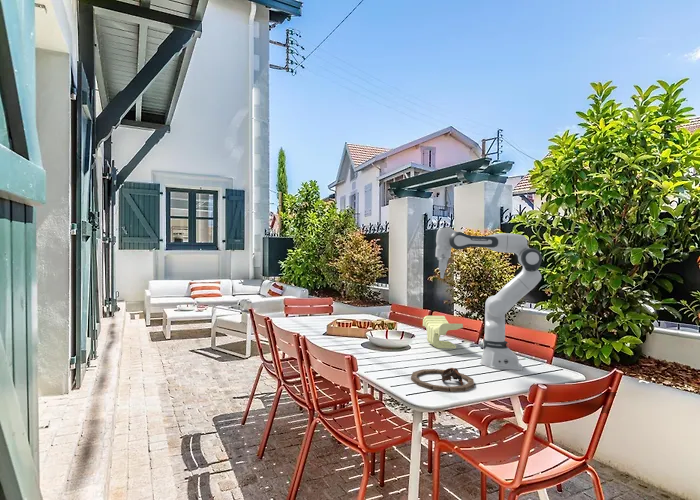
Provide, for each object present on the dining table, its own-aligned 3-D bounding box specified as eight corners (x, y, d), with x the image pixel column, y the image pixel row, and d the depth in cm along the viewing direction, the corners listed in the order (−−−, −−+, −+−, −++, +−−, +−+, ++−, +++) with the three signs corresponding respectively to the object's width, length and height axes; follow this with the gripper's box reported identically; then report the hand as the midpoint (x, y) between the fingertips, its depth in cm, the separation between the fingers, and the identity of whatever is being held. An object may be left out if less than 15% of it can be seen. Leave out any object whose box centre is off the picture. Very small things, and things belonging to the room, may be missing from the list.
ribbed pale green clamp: (422, 340, 294) (423, 315, 294) (443, 340, 297) (444, 315, 297) (438, 351, 264) (439, 323, 264) (461, 351, 267) (462, 323, 267)
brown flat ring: (472, 376, 214) (472, 372, 214) (474, 394, 185) (474, 391, 185) (414, 369, 221) (415, 366, 221) (408, 386, 193) (408, 383, 193)
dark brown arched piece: (462, 388, 195) (454, 373, 194) (445, 393, 199) (436, 378, 199) (467, 375, 205) (459, 361, 205) (450, 380, 210) (442, 366, 210)
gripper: (448, 254, 234) (447, 279, 235) (449, 254, 254) (448, 277, 254) (436, 254, 236) (435, 278, 236) (438, 254, 256) (437, 276, 256)
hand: (442, 277), depth 245 cm, fingers open, 8 cm apart
